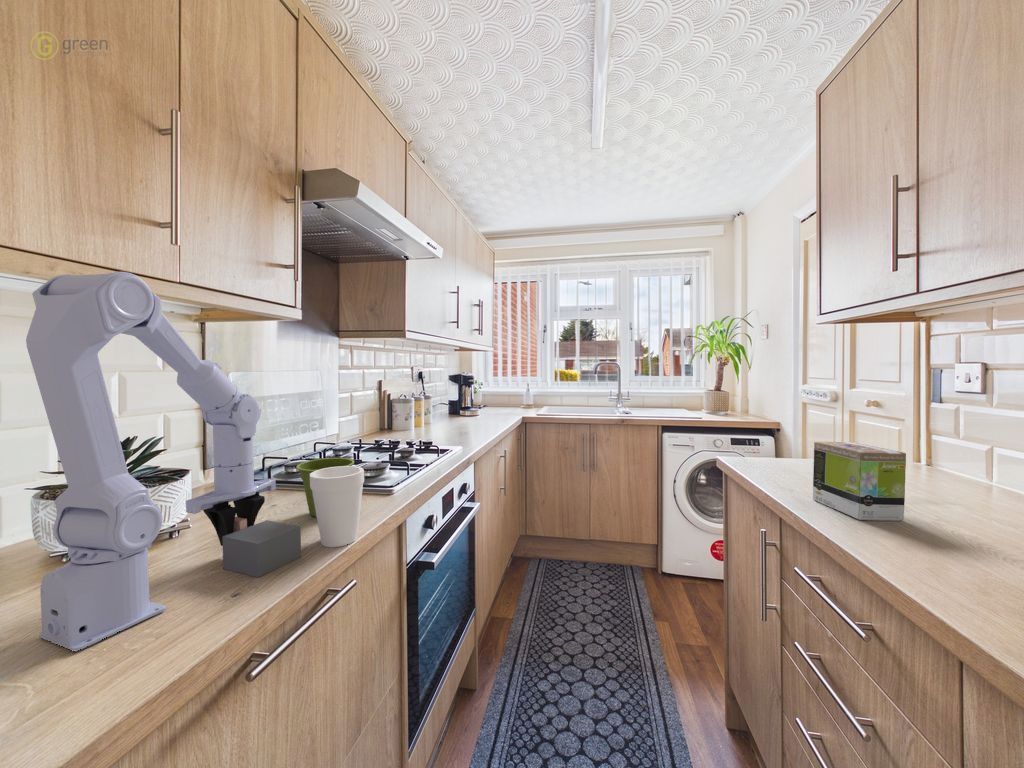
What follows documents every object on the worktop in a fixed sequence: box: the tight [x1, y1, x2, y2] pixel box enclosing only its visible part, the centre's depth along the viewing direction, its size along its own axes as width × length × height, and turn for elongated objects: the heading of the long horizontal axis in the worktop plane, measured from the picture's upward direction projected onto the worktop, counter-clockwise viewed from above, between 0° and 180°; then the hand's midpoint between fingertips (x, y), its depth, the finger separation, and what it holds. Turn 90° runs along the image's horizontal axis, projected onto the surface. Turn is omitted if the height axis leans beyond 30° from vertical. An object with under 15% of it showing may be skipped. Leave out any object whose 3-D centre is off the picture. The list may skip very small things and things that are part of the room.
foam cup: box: [310, 465, 365, 548], centre depth 81 cm, size 10×9×13 cm
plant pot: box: [296, 457, 355, 518], centre depth 97 cm, size 12×12×11 cm
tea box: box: [812, 441, 907, 522], centre depth 99 cm, size 15×10×15 cm
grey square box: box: [222, 519, 302, 578], centre depth 72 cm, size 8×8×5 cm
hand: (235, 542), depth 74 cm, fingers open, 3 cm apart
